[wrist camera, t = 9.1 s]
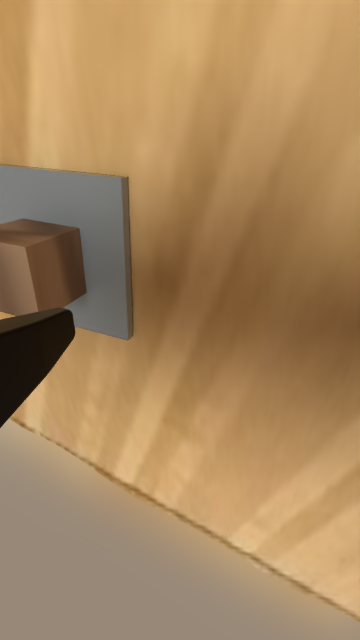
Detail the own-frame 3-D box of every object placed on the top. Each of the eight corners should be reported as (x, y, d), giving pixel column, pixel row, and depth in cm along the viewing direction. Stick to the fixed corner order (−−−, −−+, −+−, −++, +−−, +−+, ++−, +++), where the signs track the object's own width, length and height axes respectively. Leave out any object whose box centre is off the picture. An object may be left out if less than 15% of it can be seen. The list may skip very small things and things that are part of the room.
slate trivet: (127, 176, 20) (121, 177, 19) (132, 335, 26) (128, 340, 25) (-17, 162, 23) (-27, 162, 22) (18, 305, 29) (11, 309, 28)
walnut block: (79, 227, 22) (25, 247, 18) (86, 292, 24) (40, 322, 20) (22, 218, 23) (-40, 234, 19) (35, 280, 26) (-18, 306, 22)
